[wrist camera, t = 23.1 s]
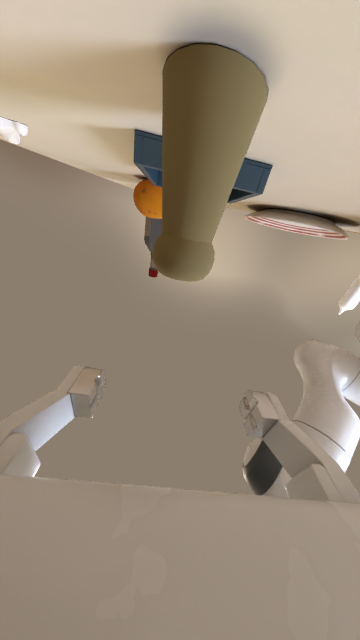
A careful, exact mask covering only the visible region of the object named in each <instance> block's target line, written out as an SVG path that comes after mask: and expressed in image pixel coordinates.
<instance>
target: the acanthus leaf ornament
mask: <svg viewBox="0 0 360 640" xmlns="http://www.w3.org/2000/svg"><path fill="white" fill-rule="evenodd" d="M27 133H28V127H27V126H26V125H23V124H21V123H18V122H15V121H11V120H8V119H5V118H2V117H0V134H1V135H2V136H3V137H4V139H6V140H7V141H9V142H11V143H13V144H19V143H20V136H19V134H20V135H22V136H26V135H27Z"/></svg>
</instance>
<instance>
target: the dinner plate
mask: <svg viewBox="0 0 360 640" xmlns="http://www.w3.org/2000/svg"><path fill="white" fill-rule="evenodd" d="M244 218H245V219H247V220H249V221H252V222H255V223H259V224H262V225H266V226H269V227H273V228H277V229H281V230H286V231H290V232H295V233H300V234H306V235H312V236H318V237H325V238H333V239H348V238H349V237H348V235H347V234H346V233H345V232H344V231H343V230H342V229H341V228H339V227H338V226H336V225H335V224H334V222H332V221H330V220H328V219H325V218H322V217H318V216H315V215H310V214H306V213H300V212H295V211H288V210H280V209H265V210H263V211H258V212H254V213H251V214H248V215H246V216H244Z"/></svg>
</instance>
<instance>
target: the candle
mask: <svg viewBox="0 0 360 640" xmlns="http://www.w3.org/2000/svg"><path fill="white" fill-rule="evenodd" d="M359 301H360V273H359V275H358V276H357V277H356V279H355V280H354V282H353V283H352V284H351V286H350V287H349V288H348V290H347V291H346V292H345V294H344V295H343V296H342V298H341V299H340V301H339V302H338V305H339V307H340V311H339V315H340V314H341V313H342V312H343V311H345V310H351V309H353V308H354V307H355V306H356V305H357V304H358V302H359Z"/></svg>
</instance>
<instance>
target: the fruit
mask: <svg viewBox="0 0 360 640" xmlns="http://www.w3.org/2000/svg"><path fill="white" fill-rule="evenodd" d="M134 202H135V205H136V207H137V209H138V210H139V211H140V212H141V213H142V214H143V215H144V216H146V217H149V218H156V219H162V187H158V186H154V185H153V184H152V183H151V182H150V181H149V180H148V179H146V180H143V181H141V182H139V183H138V184H137V186H136V187H135V190H134Z"/></svg>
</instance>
